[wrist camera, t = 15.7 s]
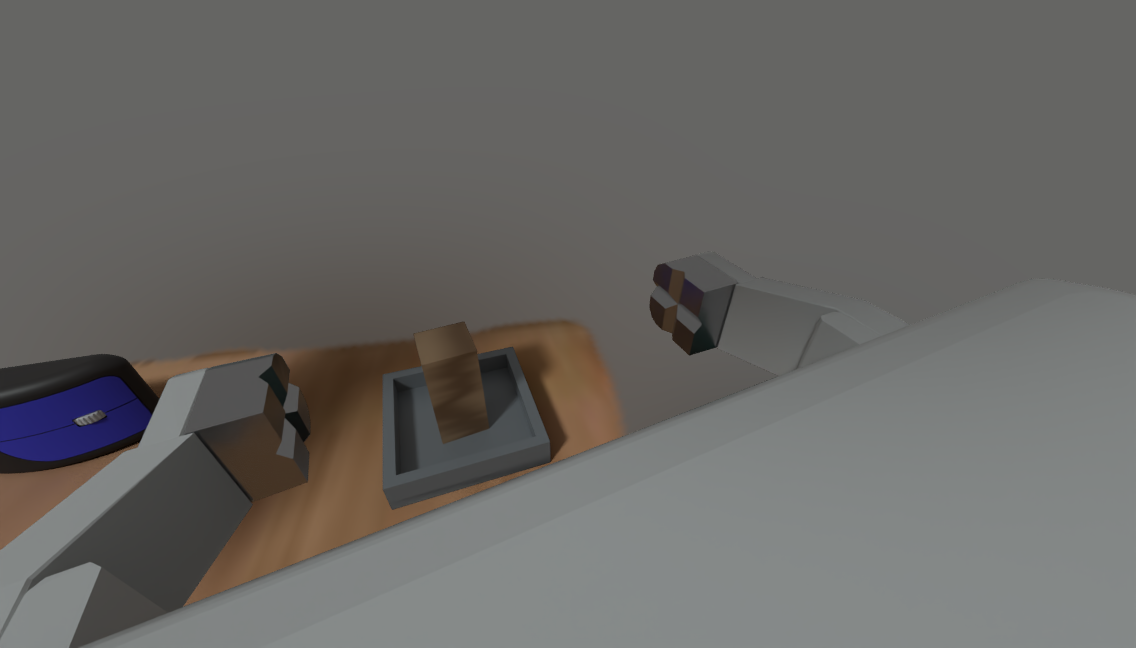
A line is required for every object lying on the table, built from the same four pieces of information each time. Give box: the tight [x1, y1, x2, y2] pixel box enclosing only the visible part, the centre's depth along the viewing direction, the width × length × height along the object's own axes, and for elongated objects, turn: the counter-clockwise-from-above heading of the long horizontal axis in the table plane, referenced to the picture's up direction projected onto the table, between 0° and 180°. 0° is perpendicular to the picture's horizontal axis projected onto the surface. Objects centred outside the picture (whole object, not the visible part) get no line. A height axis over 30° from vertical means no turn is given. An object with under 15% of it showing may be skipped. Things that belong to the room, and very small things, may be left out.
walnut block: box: [413, 322, 489, 444], centre depth 38 cm, size 4×4×10 cm
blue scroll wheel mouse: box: [0, 354, 159, 474], centre depth 36 cm, size 16×5×9 cm, turn 107°
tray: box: [383, 347, 551, 510], centre depth 41 cm, size 14×14×3 cm
